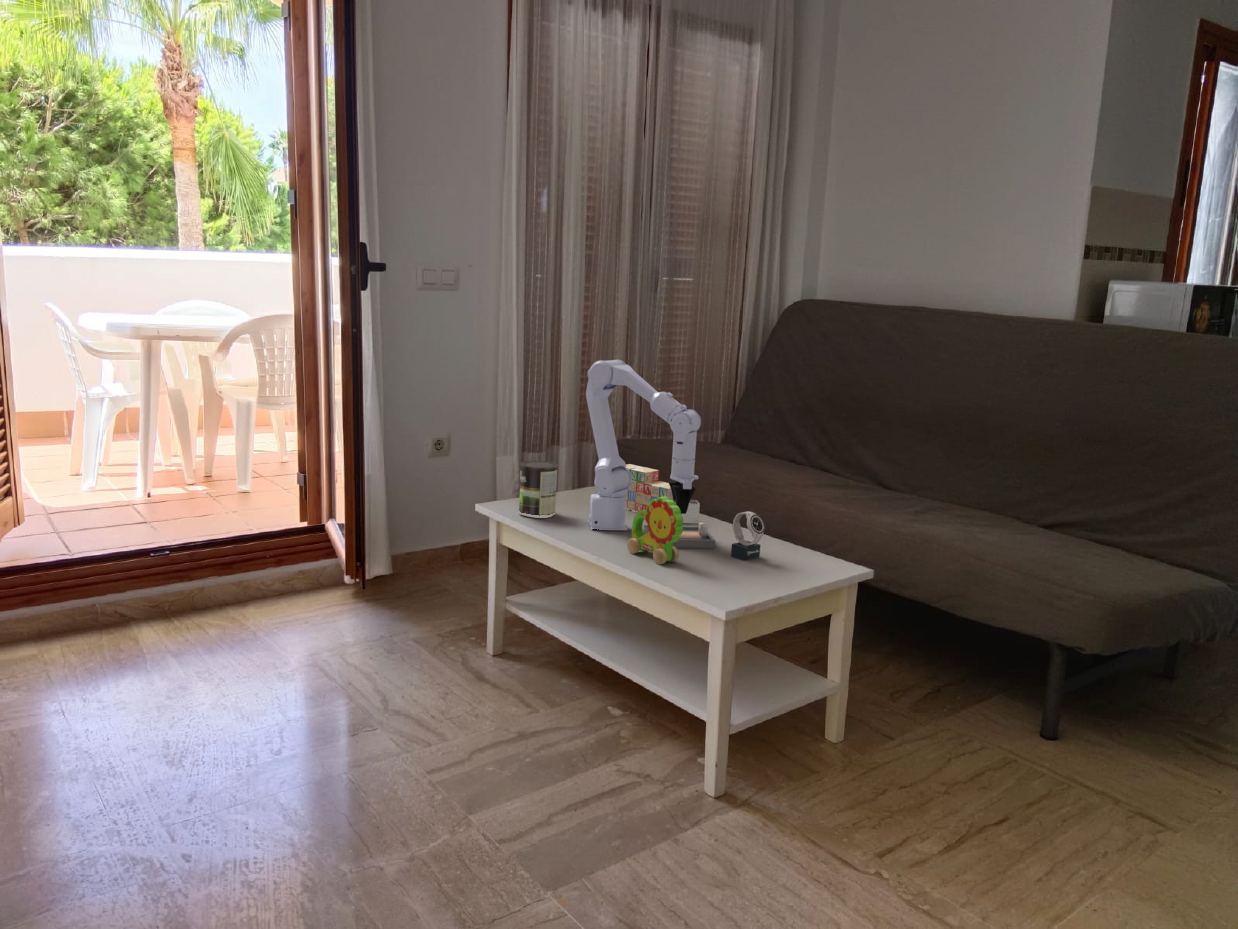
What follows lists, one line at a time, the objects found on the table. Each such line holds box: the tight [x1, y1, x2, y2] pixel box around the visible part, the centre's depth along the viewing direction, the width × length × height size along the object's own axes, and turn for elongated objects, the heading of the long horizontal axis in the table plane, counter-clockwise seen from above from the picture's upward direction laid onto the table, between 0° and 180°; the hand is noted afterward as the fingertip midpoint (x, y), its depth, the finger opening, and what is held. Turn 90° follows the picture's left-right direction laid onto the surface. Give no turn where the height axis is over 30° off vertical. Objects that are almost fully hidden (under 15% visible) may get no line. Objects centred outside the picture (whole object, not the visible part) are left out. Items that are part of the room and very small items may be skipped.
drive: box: [673, 499, 701, 524], centre depth 232 cm, size 9×4×5 cm, turn 97°
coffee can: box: [518, 460, 559, 516], centre depth 252 cm, size 10×10×14 cm
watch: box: [730, 510, 766, 561], centre depth 220 cm, size 6×8×11 cm
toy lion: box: [626, 497, 684, 566], centre depth 214 cm, size 16×5×15 cm, turn 38°
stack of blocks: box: [625, 463, 673, 512], centre depth 262 cm, size 21×6×12 cm, turn 43°
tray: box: [642, 522, 716, 549], centre depth 233 cm, size 16×14×4 cm
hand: (680, 511), depth 232 cm, fingers closed on drive, 4 cm apart
